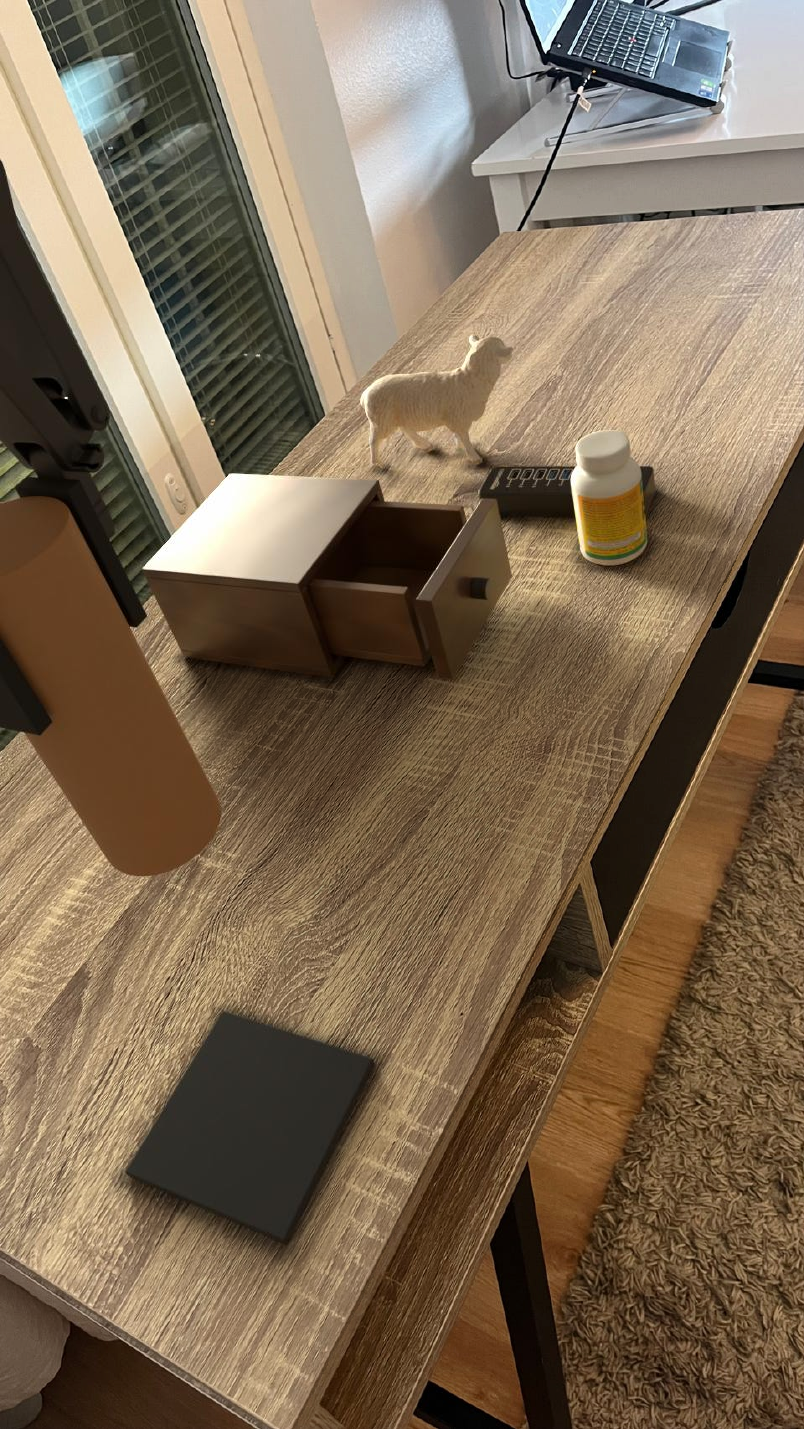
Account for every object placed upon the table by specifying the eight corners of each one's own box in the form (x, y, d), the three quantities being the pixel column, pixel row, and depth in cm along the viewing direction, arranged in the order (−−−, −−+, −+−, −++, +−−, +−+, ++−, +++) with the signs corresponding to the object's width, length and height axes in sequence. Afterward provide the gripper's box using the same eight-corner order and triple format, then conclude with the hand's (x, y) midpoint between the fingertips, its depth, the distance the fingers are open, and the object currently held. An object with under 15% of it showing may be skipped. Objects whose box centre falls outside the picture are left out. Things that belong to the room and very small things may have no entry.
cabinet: (405, 571, 91) (379, 479, 85) (332, 678, 83) (298, 584, 77) (263, 559, 98) (230, 473, 92) (183, 657, 90) (141, 569, 84)
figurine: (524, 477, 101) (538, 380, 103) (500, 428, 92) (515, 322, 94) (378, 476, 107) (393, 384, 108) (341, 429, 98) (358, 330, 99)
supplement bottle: (570, 543, 88) (554, 440, 82) (629, 521, 89) (618, 416, 83) (598, 576, 84) (583, 470, 78) (660, 552, 85) (650, 445, 78)
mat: (375, 1063, 58) (372, 1058, 58) (287, 1245, 52) (283, 1240, 52) (226, 1015, 62) (222, 1009, 62) (128, 1177, 56) (124, 1172, 56)
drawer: (526, 577, 85) (511, 499, 80) (467, 682, 78) (447, 602, 73) (365, 564, 92) (343, 491, 87) (297, 659, 84) (268, 585, 79)
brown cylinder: (244, 794, 49) (99, 498, 39) (177, 889, 46) (-1, 594, 36) (150, 773, 52) (-10, 491, 41) (81, 862, 49) (-112, 580, 38)
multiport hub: (645, 518, 89) (642, 495, 87) (481, 515, 95) (476, 493, 93) (656, 488, 91) (654, 465, 90) (496, 487, 97) (492, 465, 96)
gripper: (-153, -73, 35) (133, 527, 50) (-775, 137, 23) (-162, 826, 39) (13, -124, 31) (265, 537, 46) (-624, 93, 20) (-17, 868, 35)
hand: (70, 667), depth 42 cm, fingers closed on brown cylinder, 6 cm apart
